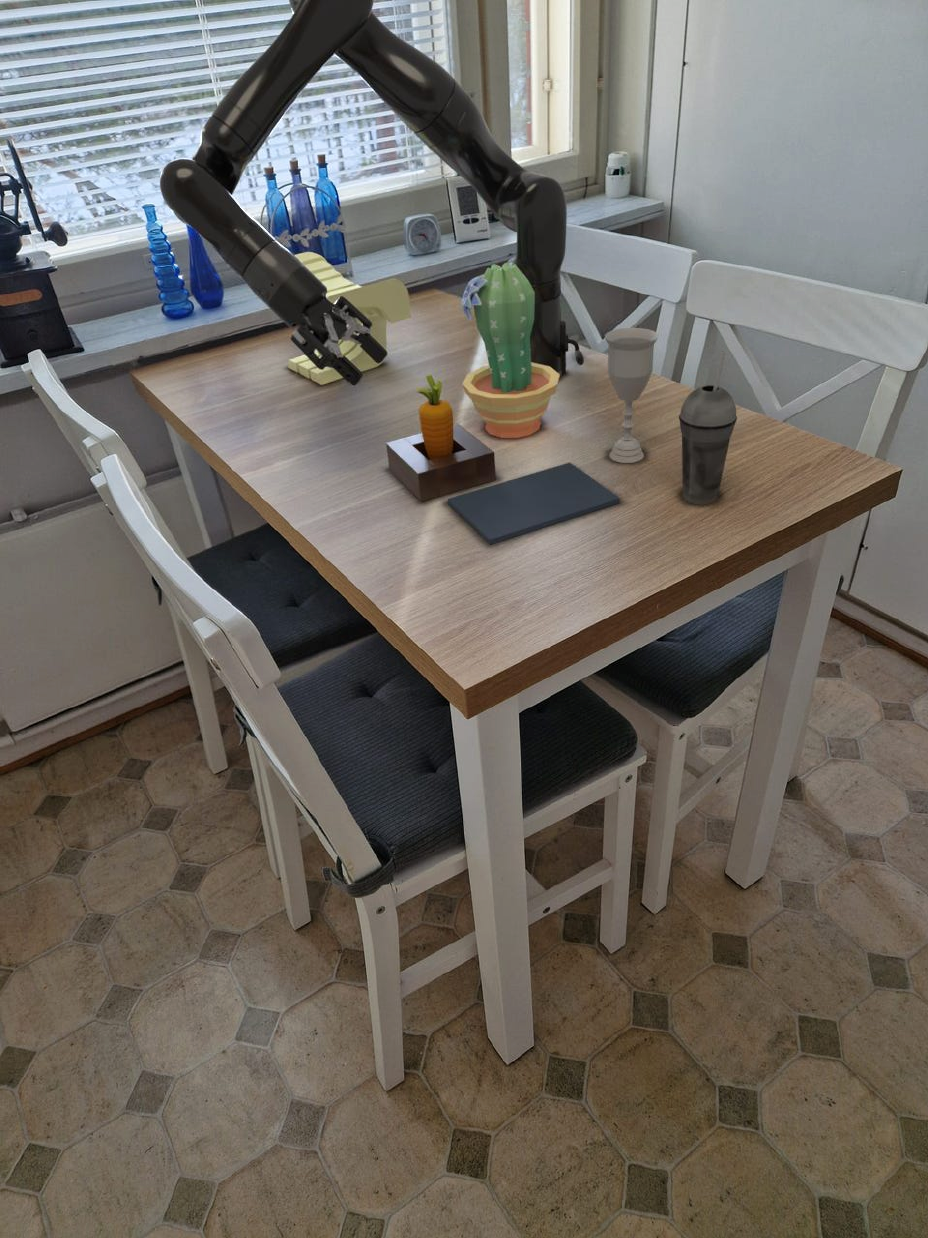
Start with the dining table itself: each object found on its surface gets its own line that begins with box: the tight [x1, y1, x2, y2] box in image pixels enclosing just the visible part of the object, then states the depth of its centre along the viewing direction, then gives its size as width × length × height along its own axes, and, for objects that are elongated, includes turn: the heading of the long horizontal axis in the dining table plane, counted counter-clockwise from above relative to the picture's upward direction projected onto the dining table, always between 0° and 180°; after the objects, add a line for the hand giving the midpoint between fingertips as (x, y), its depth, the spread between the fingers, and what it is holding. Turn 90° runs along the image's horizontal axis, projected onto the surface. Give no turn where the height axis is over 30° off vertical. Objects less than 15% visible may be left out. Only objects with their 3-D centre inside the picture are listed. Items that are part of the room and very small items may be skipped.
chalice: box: [604, 327, 659, 464], centre depth 127 cm, size 7×7×18 cm
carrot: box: [416, 374, 454, 460], centre depth 127 cm, size 5×5×15 cm
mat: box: [447, 462, 621, 545], centre depth 122 cm, size 20×13×1 cm, turn 116°
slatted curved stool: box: [288, 251, 412, 386], centre depth 167 cm, size 30×16×18 cm, turn 37°
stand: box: [385, 423, 497, 503], centre depth 130 cm, size 12×12×4 cm
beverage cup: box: [678, 351, 738, 506], centre depth 114 cm, size 7×7×20 cm
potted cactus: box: [461, 262, 560, 439], centre depth 136 cm, size 15×15×25 cm
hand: (371, 369), depth 125 cm, fingers open, 8 cm apart
